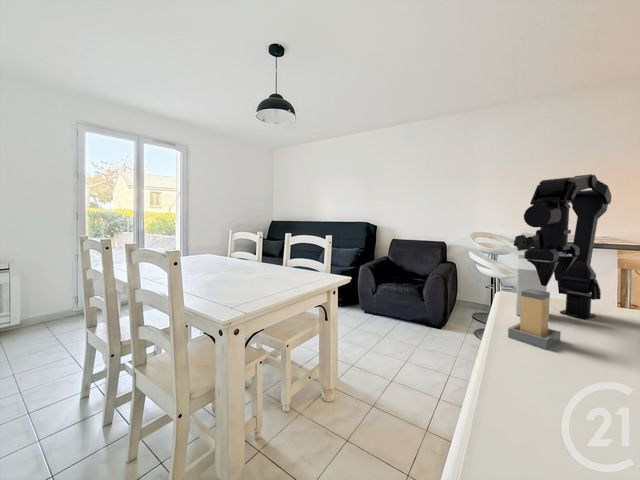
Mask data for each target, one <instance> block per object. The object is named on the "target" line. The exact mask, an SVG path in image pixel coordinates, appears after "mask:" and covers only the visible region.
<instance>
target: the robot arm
mask: <svg viewBox="0 0 640 480" xmlns="http://www.w3.org/2000/svg"><path fill="white" fill-rule="evenodd" d="M611 202H612V193H611V190H610V188H609V185H608V184H606V183H603V182H601V180H598V178H597V176H596V175H595V174H592V173H590V174H582V175H574V176H571V177H560V178H549V179H542V180H541V181H540V182H539V184H538V185H537V186H536V187H535V190H534V193H533V195H532V198H531V200H530V202H529V203H530V205H531V206H528V208H526V210H525V212H524V213H523V220H524V222H525V223H526V225H528V226H529V227H531V228H539V229H536V231H535V235H531V236H526V235H524V234H520V235H517V236H515V237H514V238H515V239H514V240H513V246H514V247H516V248H517V252H521V251H524V254H523V255H524V259H527V261H528V262H531V263H532V264H533V265H534V266H535V268H536V270H537V273H538V276H539V280H540V283H541V285H542V286H546V287H547V286H548V284H549V282H551V281H550V280H551V279H552V276H553V274H554V276H553V277H554V280H555V281H556V282H557V288H558V290H557V291H558V294H559V295H560V294H561V295H566V296H565V309H562V310H560V311H559V313H560V314H564V315H568V316H572V317H575V318H578V319H579V318H580V319H583V320H588V319H591V318H594V317H596V316H597V314H596V313H592V312H591V310H592V309H591V308H592V300H593V301H595V300H601V299H602V298H601V297H602V293H601V291H602V290H601V287H600V284H599V282H598V280H597V274H596V272H595V271H594V269H593V267H592V265H591V264H592V263H591V262H592V257H593V252H594V251H593V250H594V245H595V238H596V231H597V226H598V220H599V219H600V218H601V217H602V216H603V215H604V214H605V213H606V212H607V210H608V207H609V205H610V204H611ZM571 205H572V206H571ZM570 208H571V209H572V210H573V212H574V214H575V215H576V217H577V218H576V224H575V230H574V237H573V242H572V244H568V240H569V239H568V237H569V235H570V234H572V229H569V223H570V222H569V221H570Z"/></svg>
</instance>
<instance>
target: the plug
mask: <svg viewBox="0 0 640 480" xmlns="http://www.w3.org/2000/svg"><path fill="white" fill-rule="evenodd" d="M550 296H551V292H550V291H546V292H545V291H540V290H534V289H527V290H524V291H522V293H521V316H520V320H519V323H520V331H522V332H526V333H529V334H532V335H536V336H539V337H542V338H546V337H547V336H548V328H549V321H550V320H549V319H550V318H549V315H550V298H551V297H550Z"/></svg>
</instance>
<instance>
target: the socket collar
mask: <svg viewBox="0 0 640 480" xmlns="http://www.w3.org/2000/svg"><path fill="white" fill-rule="evenodd" d="M507 330H508V331H507V338H510V339H513V340H516V341H519V342H522V343H525V344H528V345H530V346H533V347H536V348H540V349H544V350H548V349H550V348H551V347H553V346H554V345H556V344H557V343H559V342H561V330H560V331H558V330H556V329H552V328H549V327H548V336H547V337H546V338H542V337H539V336H536V335H532V334H529V333H526V332H522V331H520V322H519V323H516V324H514V325H513V326H511V327H508V328H507Z"/></svg>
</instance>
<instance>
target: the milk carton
mask: <svg viewBox="0 0 640 480" xmlns="http://www.w3.org/2000/svg"><path fill="white" fill-rule="evenodd" d="M517 257H518V259H517V275H516V277H517V279H516V280H517V281H516V302H515V304H516V305H515V315H516V316H519V317H521V293H522V291H524V290H527V289H534V290H540V291H545V292H547V286H542V285H541V283H540V280H539V276H538V273H537V270H536V268H535V266H534V265H533V264H532V263H531V262H528V261H527V259H524V254H518V256H517Z"/></svg>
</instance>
